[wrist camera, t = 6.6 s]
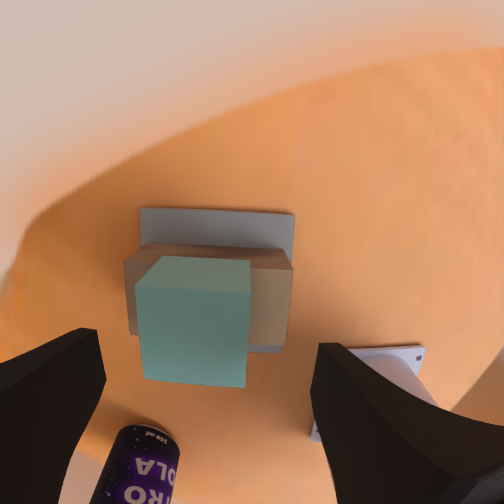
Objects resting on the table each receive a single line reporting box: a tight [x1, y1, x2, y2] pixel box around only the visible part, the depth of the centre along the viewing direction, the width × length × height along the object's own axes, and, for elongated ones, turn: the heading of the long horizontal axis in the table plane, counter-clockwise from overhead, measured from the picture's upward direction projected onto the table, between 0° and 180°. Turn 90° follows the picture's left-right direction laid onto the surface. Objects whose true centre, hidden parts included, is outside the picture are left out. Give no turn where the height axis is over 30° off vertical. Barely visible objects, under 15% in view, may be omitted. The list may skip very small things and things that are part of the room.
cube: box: [135, 256, 251, 388], centre depth 13 cm, size 4×4×4 cm
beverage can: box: [89, 424, 180, 504], centre depth 17 cm, size 6×6×12 cm
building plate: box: [140, 207, 295, 353], centre depth 19 cm, size 9×9×1 cm
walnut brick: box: [124, 242, 293, 345], centre depth 17 cm, size 8×4×4 cm, turn 87°
